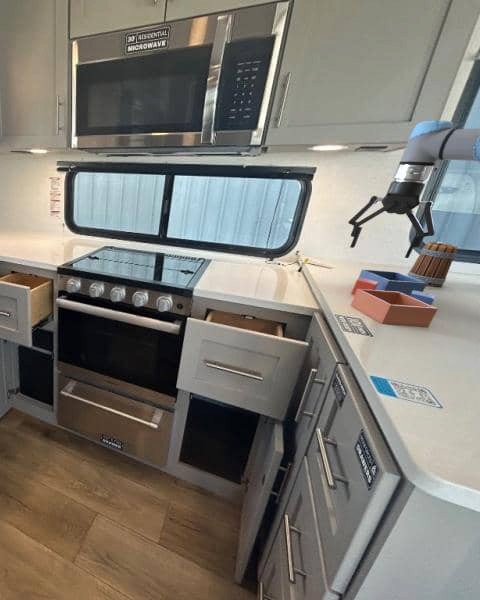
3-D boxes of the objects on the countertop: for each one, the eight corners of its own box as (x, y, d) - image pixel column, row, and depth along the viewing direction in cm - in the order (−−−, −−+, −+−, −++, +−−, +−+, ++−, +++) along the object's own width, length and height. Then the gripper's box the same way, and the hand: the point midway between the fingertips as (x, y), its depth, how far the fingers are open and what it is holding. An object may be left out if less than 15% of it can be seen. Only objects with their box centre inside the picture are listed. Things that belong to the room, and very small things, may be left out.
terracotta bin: (428, 327, 88) (438, 308, 86) (381, 323, 89) (390, 305, 87) (391, 308, 100) (399, 291, 98) (350, 305, 100) (357, 288, 98)
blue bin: (419, 298, 109) (427, 283, 107) (382, 296, 110) (388, 280, 108) (390, 286, 121) (396, 271, 119) (356, 283, 121) (361, 269, 119)
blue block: (427, 310, 100) (435, 295, 98) (426, 314, 97) (434, 298, 95) (405, 304, 103) (413, 290, 102) (403, 308, 100) (411, 293, 98)
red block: (372, 295, 110) (378, 281, 108) (369, 299, 106) (376, 284, 105) (354, 291, 113) (359, 277, 111) (350, 294, 110) (356, 280, 108)
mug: (443, 289, 121) (464, 249, 115) (405, 281, 127) (423, 243, 121) (440, 280, 132) (459, 243, 126) (405, 273, 138) (421, 238, 132)
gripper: (354, 177, 102) (329, 244, 110) (471, 185, 85) (431, 264, 94) (359, 177, 107) (335, 242, 115) (471, 185, 90) (433, 260, 98)
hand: (378, 252), depth 104 cm, fingers open, 13 cm apart
